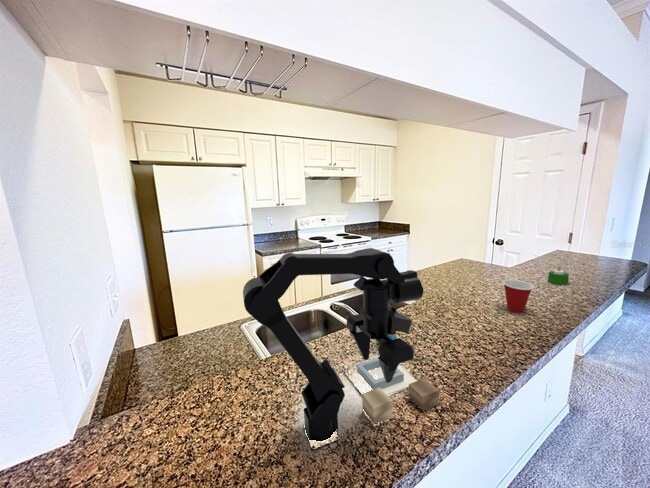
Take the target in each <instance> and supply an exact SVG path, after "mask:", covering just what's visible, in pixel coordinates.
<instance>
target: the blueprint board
mask: <svg viewBox="0 0 650 488" xmlns="http://www.w3.org/2000/svg"><path fill="white" fill-rule="evenodd" d="M356 366H357V372H358V373H359V374H360V375H361V376H362V377H363V378H364V380H365V381H366V382H367V383H368V384H369V385H370V386H371V388H372V389H373V390H374V389H377V388H381V389H382V390H383V391H384V393H385V394H386V395H388V394H391V393H394V392H398V391H400V390H404V389H407V388H409V384H411V383H413V382H416V381H418V380H417V379H416V378H415V377H413V376H412V374H410V373H409V372H408V371H407V370H405V368H403V367H402V366H401V365H400V364H399V365H398V367H397V369H396V371H395V374H394V376H393V378H392V381H391V382H389V383H387V382H386V381H385V378H384V375H383V372H382V369H381V365H380V362H379V359H378V357H377V358H374V359H370V360H366V361H364V362H360V363H358V364H356ZM375 368H377V369H376V370H375ZM369 370H371V371H370V373H369V372H368V371H369ZM374 370H375V372H374ZM371 374H372V375H371ZM375 374H376V375H377V376H378V379H377V380H375V379H374V378H373V376H374V375H375ZM379 377H380V378H379Z"/></svg>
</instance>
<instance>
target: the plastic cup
mask: <svg viewBox="0 0 650 488" xmlns="http://www.w3.org/2000/svg"><path fill="white" fill-rule="evenodd" d="M502 283H503V285H504V286H503V287H504V294H505V299H506V300H505V301H506V307H507V309H508V311H510V312H513V313H524V312H525V310H526V306H527V303H528V300H529V299H530V298H529V297H530V294H531V293H532V290H533V289H534V288H535V286H534V285H533V284H531V283H530V282H527V281H523V280H519V279H505V280H502Z"/></svg>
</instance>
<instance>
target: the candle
mask: <svg viewBox="0 0 650 488" xmlns="http://www.w3.org/2000/svg"><path fill="white" fill-rule="evenodd" d="M569 277H570V274H569V273H567V272H565V271H564V270H562V266H561V265H560V264H558V265H557V269H553V270H551V271H548V275H547V283H548V282H549V283H548V284H550V283H551V284H550V285H555V286H562V285H564V286H568V284H569Z"/></svg>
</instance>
